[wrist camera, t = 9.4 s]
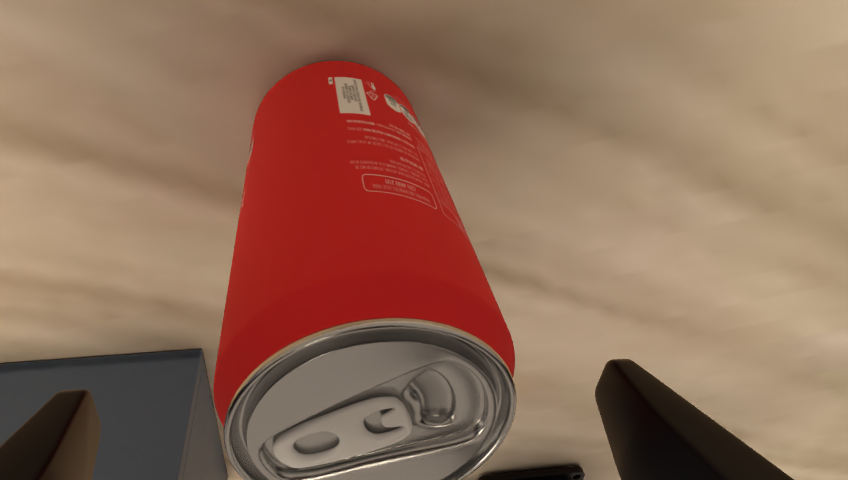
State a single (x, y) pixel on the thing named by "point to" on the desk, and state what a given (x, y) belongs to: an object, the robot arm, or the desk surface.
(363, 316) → the beverage can
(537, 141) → the desk surface
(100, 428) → the robot arm
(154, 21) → the desk surface
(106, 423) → the slate grey box
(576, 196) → the desk surface
